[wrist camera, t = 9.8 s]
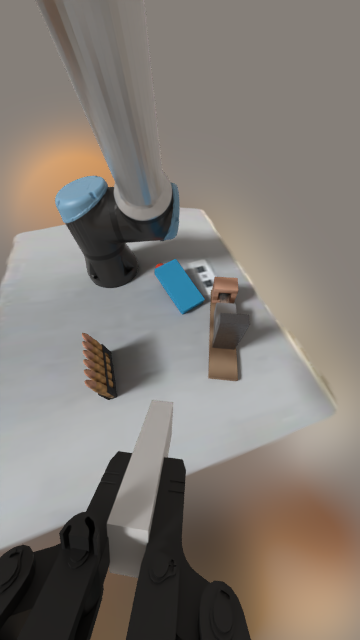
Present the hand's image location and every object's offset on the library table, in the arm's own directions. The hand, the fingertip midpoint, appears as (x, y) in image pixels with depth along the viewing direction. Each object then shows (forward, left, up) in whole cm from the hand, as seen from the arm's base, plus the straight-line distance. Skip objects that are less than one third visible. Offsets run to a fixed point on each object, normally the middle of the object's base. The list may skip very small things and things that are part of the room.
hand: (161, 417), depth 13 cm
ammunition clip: (-13, -12, -26) cm, 32 cm away
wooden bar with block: (-17, +16, -26) cm, 35 cm away
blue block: (-34, +7, -27) cm, 44 cm away
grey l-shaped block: (-19, +16, -24) cm, 35 cm away
